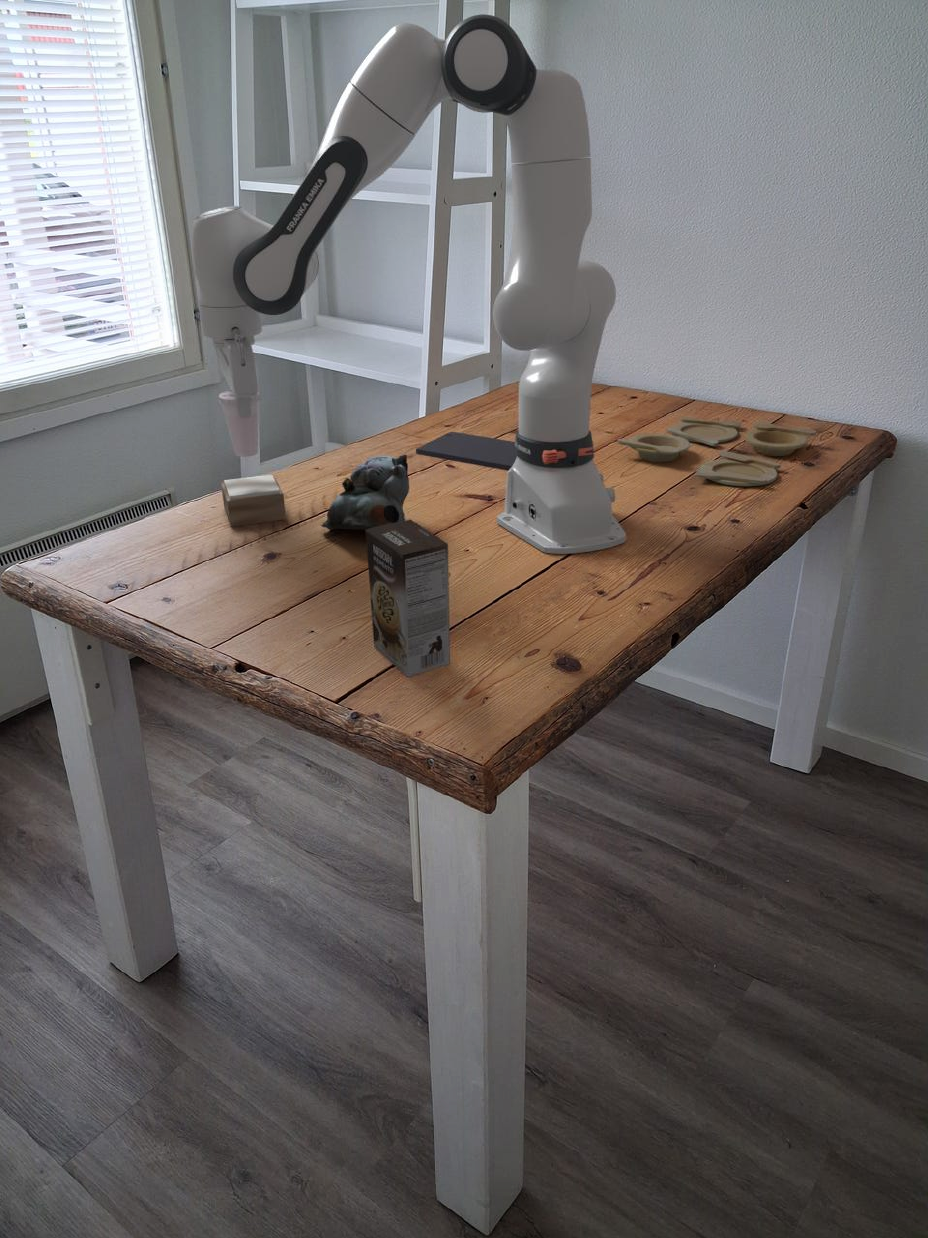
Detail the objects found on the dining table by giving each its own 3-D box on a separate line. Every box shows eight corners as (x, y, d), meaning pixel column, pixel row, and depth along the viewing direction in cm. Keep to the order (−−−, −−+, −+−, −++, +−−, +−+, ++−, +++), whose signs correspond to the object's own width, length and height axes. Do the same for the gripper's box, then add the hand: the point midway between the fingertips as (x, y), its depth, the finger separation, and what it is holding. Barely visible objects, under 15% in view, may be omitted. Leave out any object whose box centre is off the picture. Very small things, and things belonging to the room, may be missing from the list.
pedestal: (286, 519, 164) (283, 490, 162) (230, 526, 162) (226, 497, 159) (277, 500, 172) (274, 473, 170) (224, 507, 169) (220, 479, 167)
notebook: (416, 456, 193) (512, 474, 183) (415, 448, 193) (512, 465, 183) (450, 438, 203) (544, 454, 193) (450, 431, 202) (544, 446, 192)
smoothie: (251, 444, 166) (241, 359, 159) (274, 452, 162) (265, 365, 155) (218, 453, 162) (206, 366, 155) (241, 462, 158) (230, 373, 151)
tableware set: (755, 498, 170) (757, 475, 168) (604, 466, 186) (605, 445, 184) (827, 445, 194) (830, 424, 193) (689, 420, 210) (690, 401, 208)
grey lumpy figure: (310, 526, 161) (328, 441, 161) (377, 541, 167) (394, 459, 167) (344, 530, 148) (364, 438, 148) (416, 547, 154) (435, 458, 154)
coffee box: (371, 647, 126) (363, 528, 118) (416, 634, 129) (410, 516, 121) (406, 679, 119) (400, 554, 111) (452, 663, 122) (449, 541, 114)
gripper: (262, 333, 144) (272, 426, 151) (243, 308, 162) (253, 393, 168) (217, 337, 143) (230, 431, 149) (203, 311, 160) (215, 396, 166)
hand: (242, 410), depth 159 cm, fingers closed on smoothie, 6 cm apart
